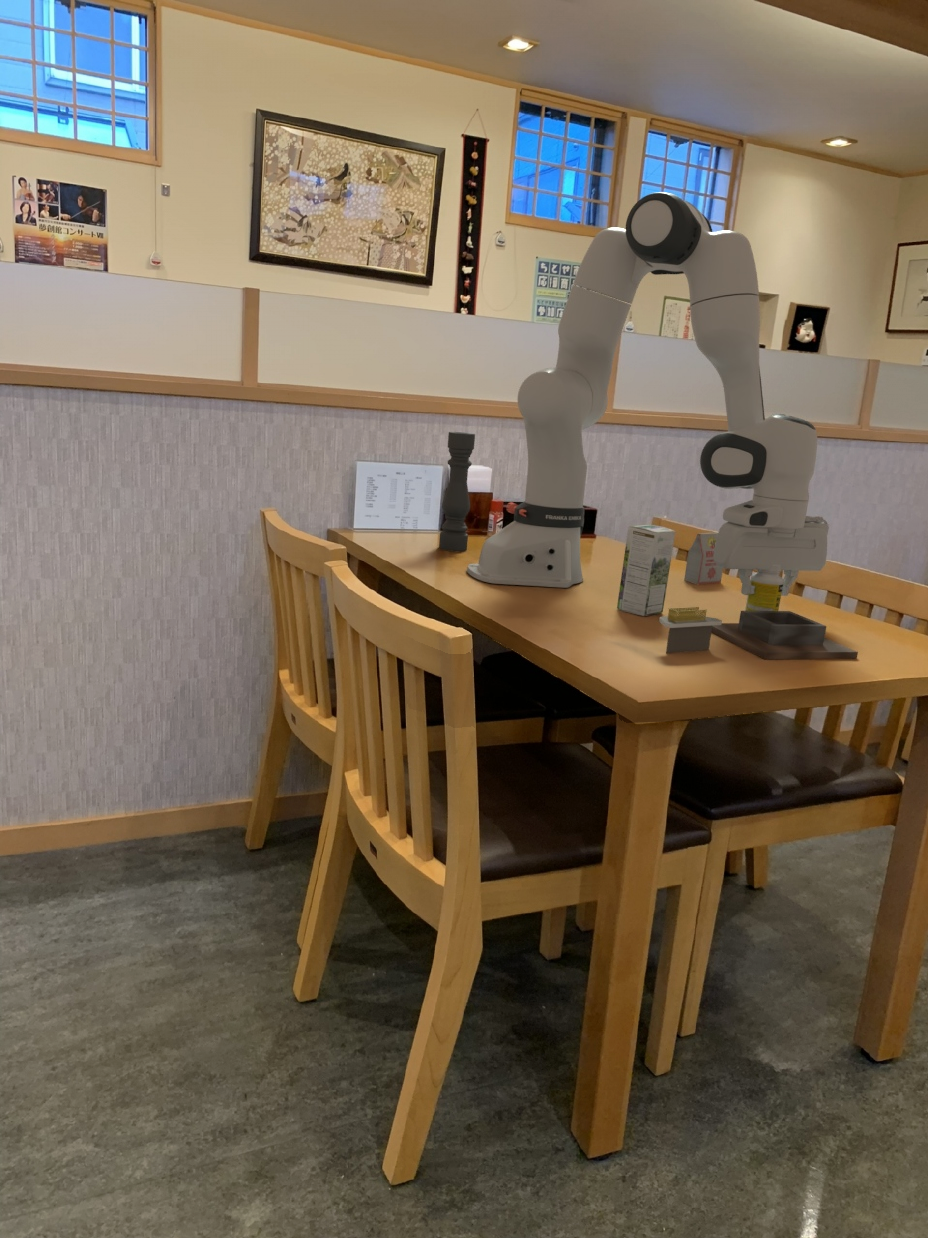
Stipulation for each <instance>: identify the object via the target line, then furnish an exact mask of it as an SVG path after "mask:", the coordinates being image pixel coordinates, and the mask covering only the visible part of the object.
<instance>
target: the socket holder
mask: <svg viewBox="0 0 928 1238" xmlns="http://www.w3.org/2000/svg"><path fill="white" fill-rule="evenodd" d="M826 631H827V625H825V624H822V623H820V622H817V621H814V620H812V619H809V618H807V617H805V616H803V615H800V614H798V613H796V612H793V611H790V610H778V611H745V610H740V613H739V620H738V623H737V622H736V623H735V622H727V623H724V622H722V624H721V625H712V632H711V634H712V633H713V634H714V635H715V636H718V637H720V638H722V639H724V640H726V641H728V642H729V643H732V644H734V645H736V647H740V648H742V649H743V650H746V652H747V651H748V652H750V653H751V654H753V655H755V656H757V657H759V658H760V659H763V660H823V659H824V660H826V659H827V660H829V659H830V660H832V659H833V660H834V659H835V660H836V659H837V660H838V659H842V660H843V659H844V660H845V659H858V655H859V654H858V653H859V652H858V651H857V650H854V649H852V648H849V647H848V646H845V645H843V644H840V643H838V642H836V641H834V640H830V639H829V638H826Z"/></svg>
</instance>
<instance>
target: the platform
mask: <svg viewBox="0 0 928 1238" xmlns="http://www.w3.org/2000/svg"><path fill="white" fill-rule="evenodd" d="M699 608H700V607H699V606H693V607H692V606H690V607H669V608H668V613H667V614H668V615H667V616H660V617H659V620H658V622H659V623H660V624H661V625H662V626H664V627H666V628H668V629H669V630H668V636H667V643H666V651H665V654H675V653H685V652H686V653H687V652H699V651H700V652H701V651H710V650H709V649H710V643H711V637H712V625H721V624H722V623H723V621H722V620H721V619H719V618H715V617H711V616H707V611H708V609H699Z"/></svg>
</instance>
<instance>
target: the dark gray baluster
mask: <svg viewBox="0 0 928 1238" xmlns="http://www.w3.org/2000/svg"><path fill="white" fill-rule="evenodd" d="M447 437H448V438H447V439H448V440H447V448H448V452H449V455H450V458H449V459H448V460H447V465H449V468H450V469H449V479H448V484H447V488H446V490H445V494H444V497H443V501H442V503H441V508H442V511H443V513H444V515H445V516H444V517H445V519H446V520H445V521H444V522H443V524H441V530H442V531H440V533H439V541H438V543H439V544H438V549H440V550H442V551H448V552H466V551H467V550H468V540H469V534H468V533H467V531H468V526H467V524H466V522H465V520H466V517H467V516H468V515H469V513H470V509H471V501H470V495H469V494H470V493H469V486H468V477H469V476H468V473H469V469H470V467H471V466H472V464H473V463H472V461H471V460H470V458H471V455H472V454H473V451H474V450H475V439H476V434H475V433H472V432H471V433H470V432H461V431H448V434H447Z"/></svg>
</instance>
